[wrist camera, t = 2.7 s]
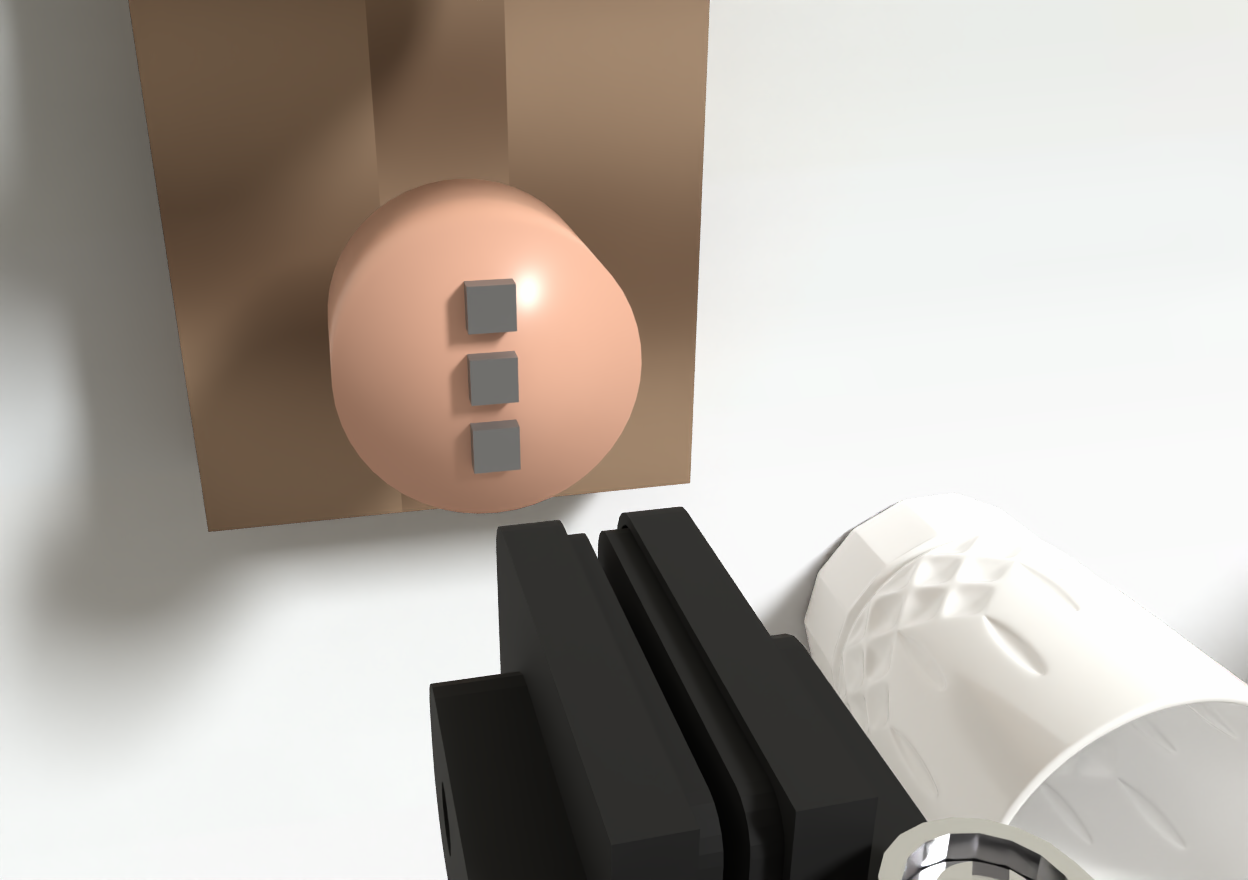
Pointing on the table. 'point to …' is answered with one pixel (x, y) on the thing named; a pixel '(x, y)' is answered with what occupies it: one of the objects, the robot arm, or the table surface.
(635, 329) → the plunger
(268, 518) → the button board
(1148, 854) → the white cup
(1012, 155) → the table surface
